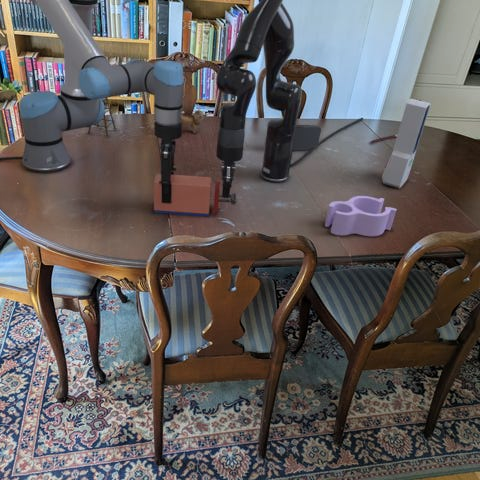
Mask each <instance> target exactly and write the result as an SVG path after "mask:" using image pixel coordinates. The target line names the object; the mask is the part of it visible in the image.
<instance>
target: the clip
mask: <svg viewBox="0 0 480 480" xmlns="http://www.w3.org/2000/svg"><path fill="white" fill-rule="evenodd" d="M384 201H385V198H383V197H379V198H376V197H373V196H368V195H357V196H352V197H350V198H349V200H347V201H339V200H338V201H337V200H335V201H332V202H330V203H329V205H328V208H327V214H326V218H325V222H324V227H326V228H329V227H330V226H331V227H330V233H331V234H333V235H336V236H348V235H353V234H356V235H360V236H364V237H365V236H366V237H378V236H381V235H382V234H384V232H385V230H387V231H391V229H392V226H393V222H394V219H395V216H396V213H397V210H398V209H397V208H395V207H391V206H385V207H384V211H383V212H382V209H383V206H384Z"/></svg>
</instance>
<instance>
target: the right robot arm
mask: <svg viewBox="0 0 480 480" xmlns="http://www.w3.org/2000/svg"><path fill="white" fill-rule="evenodd" d="M283 1H284V0H258V3H257V4H256V5H255V7H253V9H251V10H250V12H248V14H247V15H246V16H245V17H244V19H243V21H242V23H241V24H240V27H239V30H238V33H237V35H236V39H235V42H234V44H233V47H232V48H231V50H230V52H229V53H228V55H227V57H226V58H225V59H224V61H223V62H222V64H221V65H220V67H219V68H218V71H217V73H216V77H215V84H216V88H217V90H218V91H219V92H221V93H223V94H226V95H230V96H234V97H236V99H235V102H225V103H223V104H222V105H221V106H220V111H219V112H220V113H219V125H218V131H217V139H216V151H215V153H216V154H215V155H216V156H215V157H216V158H217V159H218V160H220V161H221V170H220V171H221V180H222V181H221V186H222V191H221V194H222V197H221V198H222V199H230V197H229V195H231V188H232V186H233V181H234V177H235V176H234V175H235V173H236V163H237V162H240V161H241V160H242V159H243V155H244V146H245V139H246V138H245V137H246V135H245V134H246V131H245V129H246V120H247V112H248V109H249V106H250V104H251V101H252V98H253V96H254V94H255V91H256V88H257V78H256V75H255V74H254V72H252V71H251V70H249V69H246V68H242V67H243V65H244V64H252V63H256V62H257V61H258V60H259V57H260V55H261V52H262V49H263V55H264V67H265V100H266V101H265V102H266V104H267V107H269V108H270V109H271V110H275V111H279V112H283V113H284V114H283V117H277V118H272V119H270V120H269V121H268V122H267V128H266V136H265V144H264V152H263V159H262V167H261V172H260V176H261V178H262V179H263V180H265V181H268V182H271V183H282V182H285V181H287V179H288V178H289V175H290V170H291V167H294V166H295V165H297V164H299V163H300V162H301V161H303V160H304V159H306V157H307V156H308V155H310V154H311V153H312V152H314V150H315V149H314V148H312V149H311V150H307V152H306V153H305V154H303V155H302V156H301V157H300V158H298V159H297V160H295V161H294V162H293V163H292V157H293V151H291V148H292V142H293V136H294V130H295V126H296V125H297V122H298V116H299V112H300V108H301V103H302V97H303V96H302V95H303V90H302V87H301V86H300V85H299V84H297V83H296V84H295V83H292V82H289V81H288V82H287V81H284V80H282V79H281V70H282V68H283V67H284V65H285V64H286V62H287V61H288V60H289V58H290V57H291V55H292V53H293V51H294V47H295V28H294V22H293V20H292V17H291V15H290V13H289V12H288V9H287V8H286V7H285V5H284V3H283ZM362 120H364V117H361V118H359V119H357V120H355V121H353V122H351V123H349V124H347V125H344V126H343V127H341V128H339V129H337V130H336V131H334V132H332V133H330V134H329V135H327V136H326V137H324V138H323V139H321V141H319V144H318V147H319V146H320V145H322V144H323V143H324V142H326V141H327V140H329V139H331V138H332V137H333V136H334V135H336V134H338V133H339V132H341V131H343V130H345V129H347V128H349V127H351V126H352V125H355V124H357V123H359V122H361V121H362Z"/></svg>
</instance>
